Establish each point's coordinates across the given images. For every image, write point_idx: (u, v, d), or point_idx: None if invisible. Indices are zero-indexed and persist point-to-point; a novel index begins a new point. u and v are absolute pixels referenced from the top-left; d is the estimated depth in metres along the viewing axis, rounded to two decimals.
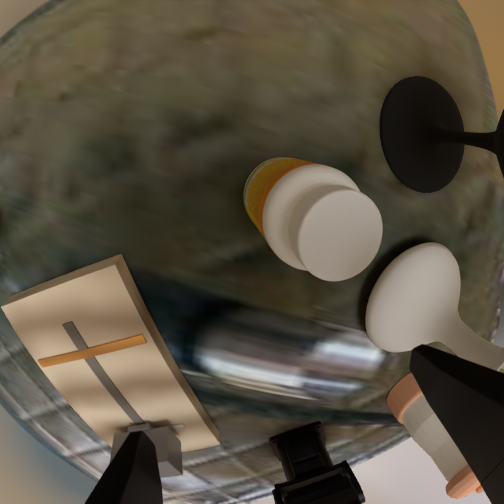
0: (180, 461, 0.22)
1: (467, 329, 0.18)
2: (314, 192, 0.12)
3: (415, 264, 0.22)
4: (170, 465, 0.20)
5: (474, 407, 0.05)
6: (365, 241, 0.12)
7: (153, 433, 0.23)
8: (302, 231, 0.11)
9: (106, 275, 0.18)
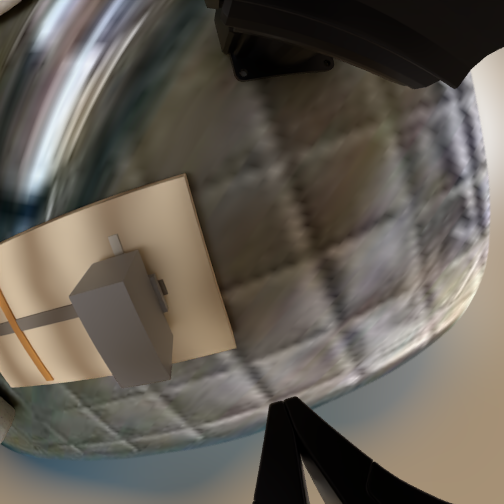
0: (123, 270, 0.13)
1: None
2: None
3: None
4: (86, 296, 0.12)
5: (325, 486, 0.05)
6: None
7: None
8: None
9: None
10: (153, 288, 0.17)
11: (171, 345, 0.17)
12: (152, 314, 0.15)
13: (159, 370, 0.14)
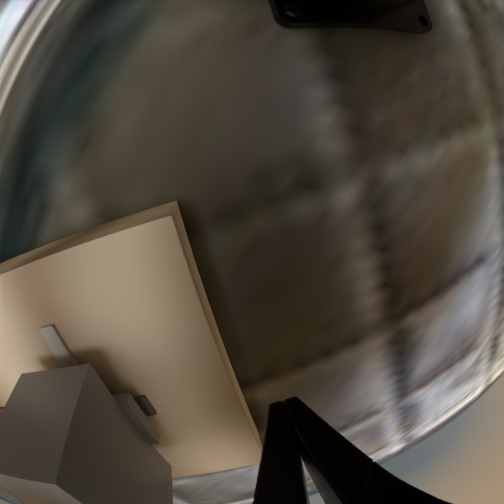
0: (58, 434, 0.05)
1: None
2: None
3: None
4: (3, 477, 0.03)
5: (325, 486, 0.05)
6: None
7: None
8: None
9: None
10: (129, 418, 0.08)
11: (170, 489, 0.08)
12: (133, 475, 0.06)
13: None
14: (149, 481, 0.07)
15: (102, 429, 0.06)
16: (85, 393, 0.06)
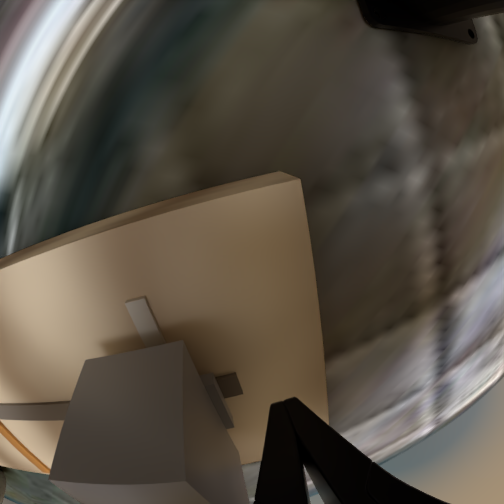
0: (168, 421, 0.05)
1: None
2: None
3: None
4: (89, 488, 0.04)
5: (324, 486, 0.05)
6: None
7: None
8: None
9: None
10: (212, 400, 0.08)
11: (242, 476, 0.08)
12: (223, 461, 0.07)
13: None
14: (232, 468, 0.07)
15: (201, 412, 0.06)
16: (184, 372, 0.06)
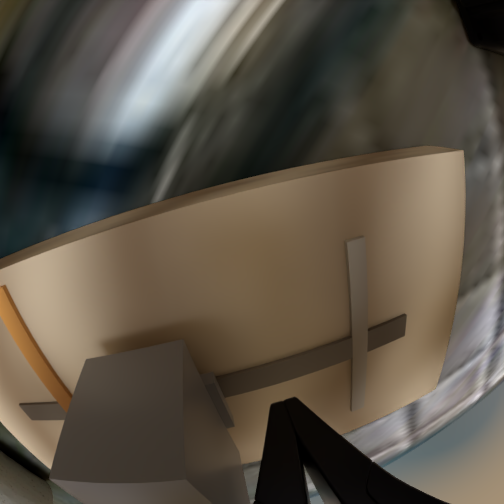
0: (168, 420, 0.05)
1: None
2: None
3: None
4: (90, 486, 0.04)
5: (324, 486, 0.05)
6: None
7: None
8: None
9: None
10: (212, 399, 0.08)
11: (243, 475, 0.08)
12: (223, 460, 0.07)
13: None
14: (233, 467, 0.07)
15: (201, 411, 0.06)
16: (185, 371, 0.07)
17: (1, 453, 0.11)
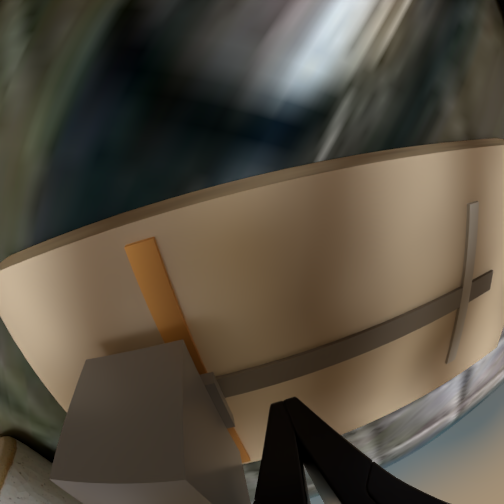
0: (168, 420, 0.05)
1: None
2: None
3: None
4: (90, 487, 0.04)
5: (324, 486, 0.05)
6: None
7: None
8: None
9: (2, 300, 0.07)
10: (212, 399, 0.08)
11: (243, 475, 0.08)
12: (224, 460, 0.07)
13: None
14: (233, 467, 0.07)
15: (201, 411, 0.06)
16: (184, 371, 0.06)
17: (46, 460, 0.12)
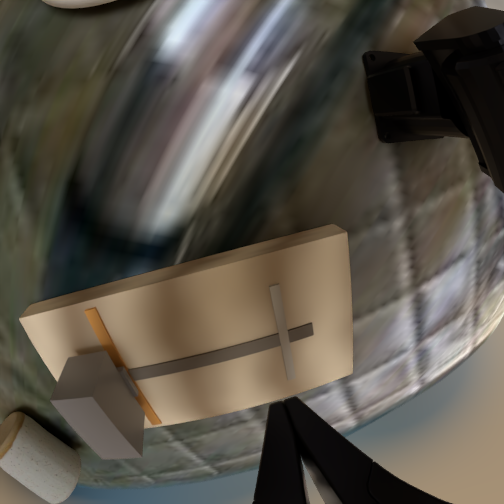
0: (92, 379, 0.13)
1: None
2: None
3: None
4: (64, 402, 0.12)
5: (325, 486, 0.05)
6: None
7: None
8: None
9: (30, 329, 0.15)
10: (123, 379, 0.17)
11: (142, 424, 0.17)
12: (123, 407, 0.15)
13: (131, 451, 0.14)
14: (131, 413, 0.16)
15: (110, 380, 0.15)
16: (104, 363, 0.15)
17: None
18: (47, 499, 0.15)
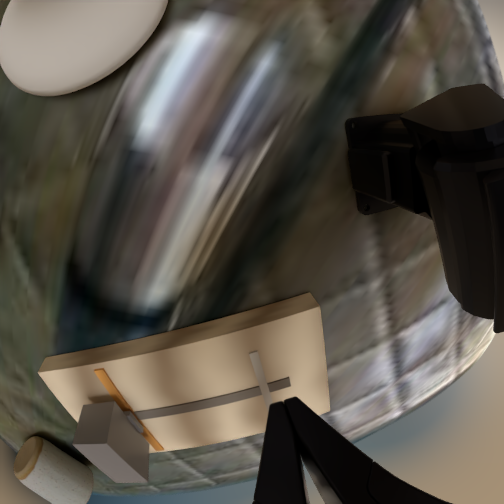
0: (105, 428, 0.16)
1: None
2: None
3: (0, 55, 0.09)
4: (84, 446, 0.14)
5: (325, 486, 0.05)
6: None
7: None
8: None
9: (48, 380, 0.18)
10: (130, 421, 0.19)
11: (148, 454, 0.19)
12: (131, 444, 0.17)
13: (139, 478, 0.16)
14: (138, 448, 0.18)
15: (120, 425, 0.17)
16: (113, 412, 0.17)
17: (59, 449, 0.23)
18: None
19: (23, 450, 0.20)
